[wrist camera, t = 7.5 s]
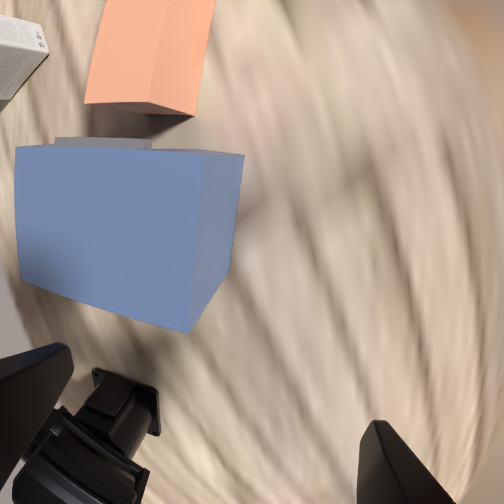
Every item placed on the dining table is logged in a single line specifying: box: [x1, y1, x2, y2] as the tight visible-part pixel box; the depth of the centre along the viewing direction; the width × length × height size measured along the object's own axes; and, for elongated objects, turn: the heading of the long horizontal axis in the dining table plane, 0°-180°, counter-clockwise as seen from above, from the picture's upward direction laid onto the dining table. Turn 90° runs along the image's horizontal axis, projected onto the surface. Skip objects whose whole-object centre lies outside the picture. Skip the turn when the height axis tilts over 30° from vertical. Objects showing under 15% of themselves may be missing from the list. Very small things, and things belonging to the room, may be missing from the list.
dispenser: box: [14, 137, 244, 334], centre depth 15 cm, size 7×10×8 cm
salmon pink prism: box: [84, 0, 216, 116], centre depth 12 cm, size 13×4×6 cm, turn 172°
